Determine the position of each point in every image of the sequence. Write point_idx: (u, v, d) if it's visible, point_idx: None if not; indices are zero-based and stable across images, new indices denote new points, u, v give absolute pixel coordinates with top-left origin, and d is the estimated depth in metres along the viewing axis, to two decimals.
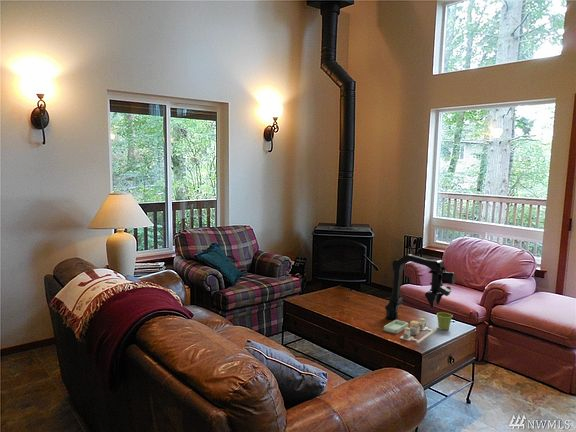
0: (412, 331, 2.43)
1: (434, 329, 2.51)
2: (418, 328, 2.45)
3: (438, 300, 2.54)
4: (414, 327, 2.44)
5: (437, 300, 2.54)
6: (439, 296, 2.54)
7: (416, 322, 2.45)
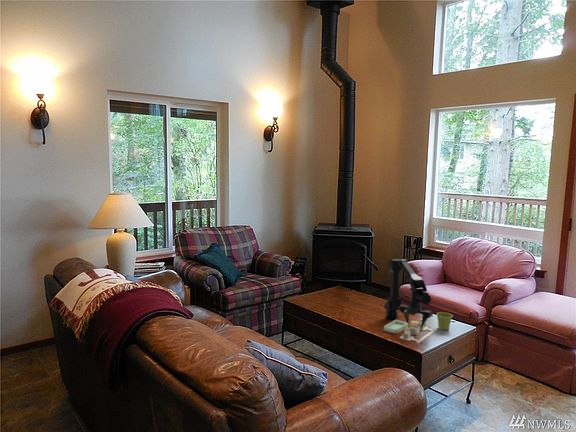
0: (412, 331, 2.43)
1: (434, 329, 2.51)
2: (418, 328, 2.45)
3: None
4: (414, 327, 2.44)
5: None
6: None
7: (416, 322, 2.45)
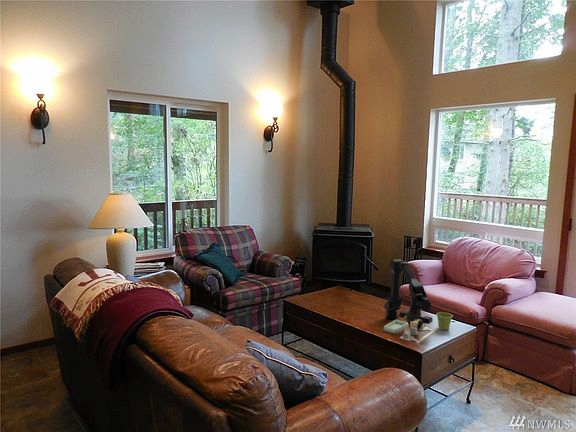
0: (412, 331, 2.43)
1: (434, 329, 2.51)
2: None
3: None
4: (414, 327, 2.44)
5: None
6: None
7: (416, 322, 2.45)
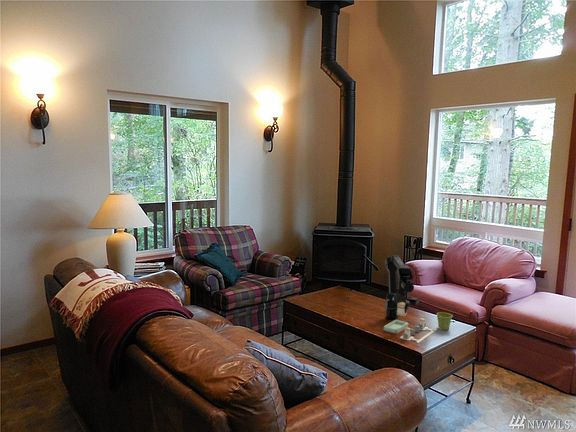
0: (412, 331, 2.43)
1: (434, 329, 2.51)
2: None
3: None
4: (401, 308, 2.48)
5: None
6: None
7: (403, 303, 2.49)
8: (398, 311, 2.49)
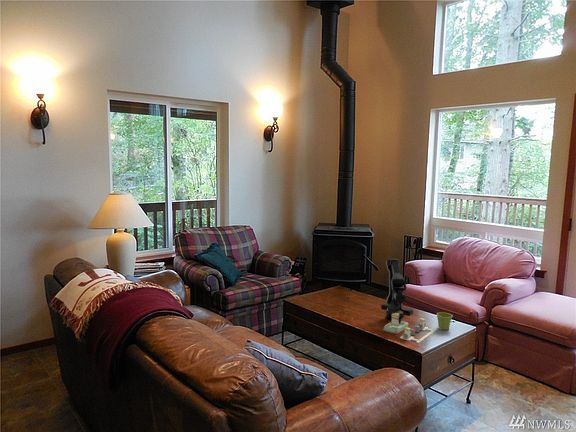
0: (412, 331, 2.43)
1: (434, 329, 2.51)
2: None
3: None
4: (395, 319, 2.50)
5: None
6: None
7: (397, 314, 2.51)
8: (392, 322, 2.52)
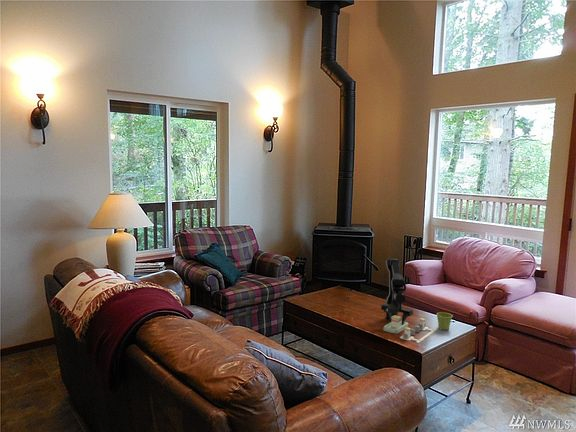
0: (412, 331, 2.43)
1: (434, 329, 2.51)
2: (399, 323, 2.51)
3: None
4: (395, 322, 2.50)
5: None
6: None
7: (397, 317, 2.52)
8: (392, 324, 2.52)
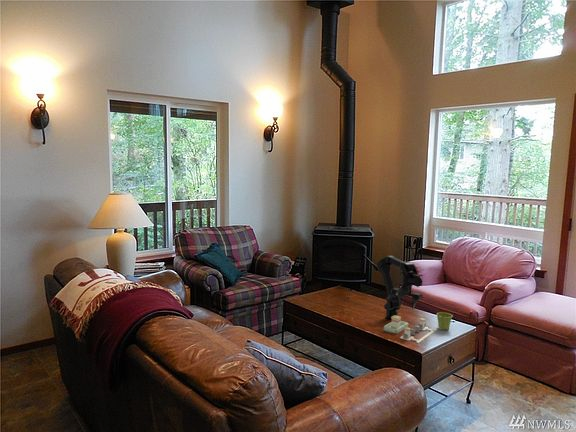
0: (412, 331, 2.43)
1: (434, 329, 2.51)
2: (399, 323, 2.51)
3: None
4: (395, 322, 2.50)
5: None
6: None
7: (397, 317, 2.52)
8: (392, 324, 2.52)
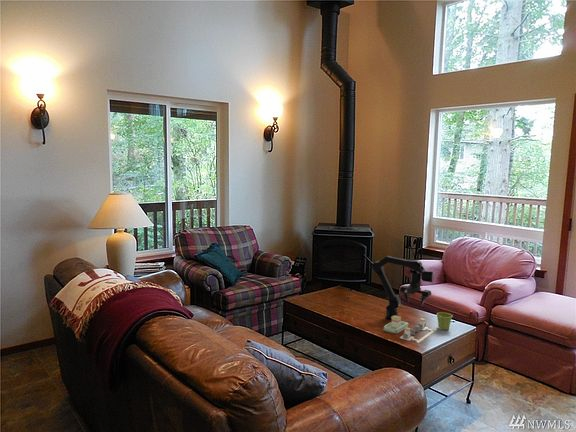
0: (412, 331, 2.43)
1: (434, 329, 2.51)
2: (399, 323, 2.51)
3: None
4: (395, 322, 2.50)
5: None
6: None
7: (397, 317, 2.52)
8: (392, 324, 2.52)
